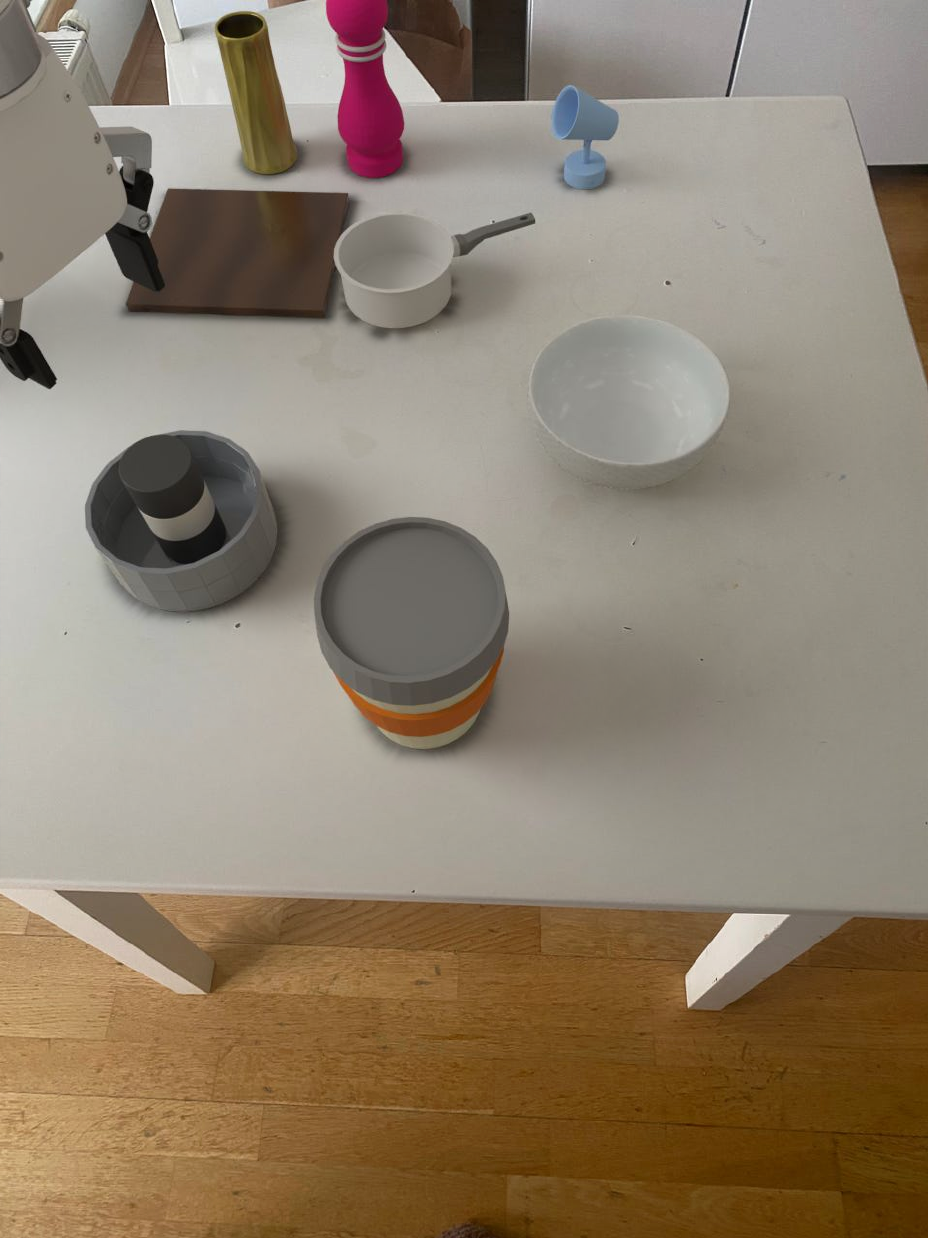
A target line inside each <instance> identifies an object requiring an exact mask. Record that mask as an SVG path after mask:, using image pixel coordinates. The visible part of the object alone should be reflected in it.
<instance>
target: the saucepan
mask: <svg viewBox="0 0 928 1238" xmlns="http://www.w3.org/2000/svg"><path fill="white" fill-rule="evenodd" d="M535 224H536V218H535V216H534V214H533V213H532V212H527V213H524V214H521V215H517V216H514V217H510V218H508V219H504V220H499V221H497V222H494V223H490V224H487V225H483V226H479V227H477V228H475V229H472V230H469V231H467V232H466V233H463V234H462V233H457V234H454V235H451V234H450V232H448V230H447V229H446V228H445V227H444V226H443V225H442V224H441V223H440V222H438V221H436V220H434V219H433V218H431V217H428V216H427V215H424V214H420V213H416V212H411V211H385V212H380V213H375V214H372V215H369V216H366V217H364V218H362V219H360V220H358V221H356V222H354V223H353V224H352V225H350V226H348V227H347V228H345V230H343V233H342V235H341V236H340V238H339V239H338V241H337V243H336V246H335V248H334V261H335V268H337V271H338V272H339V274H340V277H341V283H342V288H343V294H344V298H345V299H344V300H345V303H346V305H347V306H348V308H349V310H350V312H351V313H353V314H354V316H356V317H357V318H358V319H360V320H361V321H363V322H365V323H367V324H369V325H372V326H375V327H379V328H386V329H404V328H410V327H415V326H418V325H421V324H424V323H426V322H427V321H429V320H432V319H433V318H435V317H436V316H437V315H439V314H440V313H441V312H442V311H443V310H444V308H445V307H446V306H447V304H448V302H449V301H450V299H451V295H452V272H451V271H452V269H451V264H452V261H453V258H454V259H455V258H458V257H463V256H468V254H469V253H470V252H472V251H473V250H474V249H475V248H476V247H477V246H478V245H480V244H481V243H482V242H484V241H485V240H488V239H490V238H493V237H496V236H500V235H502V234H506V233H509V232H513V231H515V230H519V229H522V228H526V227H528V226H532V225H535Z"/></svg>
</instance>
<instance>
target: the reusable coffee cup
mask: <svg viewBox="0 0 928 1238" xmlns="http://www.w3.org/2000/svg"><path fill="white" fill-rule="evenodd" d="M315 583H316V584H315V588H314V595H313V609H314V610H313V613H314V614H313V615H314V621H315V629H316V637H317V640H318V644H319V649H320V651H321V654H322V656H323V658H324V660H325V661H326V663H327V665H328V667H329V669H331V671H332V672H333V674H334V676H335V678H336V680H337V682H338V684H339V685H340V687H341V688H342V690H343V691H344V692H345V694H346V695H347V696H348V698H349V699H350V701H351V702H352V704H353V705H354V706H355V708H356V709H357V710H358V711H359V712H360V714H361V715H363V717H364V718H365V719H366V720H368V721H369V722H371V723H372V724H373V725H375V726H376V727H377V729H378V730H379V731H380V732H381V733H382V735H384V736H385V737H387V738H388V739H389V740H391V741H392V742H393V743H396V744H398V745H400V746H404V747H407V748H411V749H416V750H428V749H436V748H440V747H443V746H447V745H449V744H451V743H453V742H454V741H456V740H459V739H460V738H461V737H462V736H463V735H465V734H466V733H467V732H468V731H469V730H470V728H471V727H473V725H474V723H475V722H476V720H477V719H478V716H479V715H480V711H481V708H483V706H484V705H485V704H486V702H487V700H488V698H489V696H490V695H491V693H492V691H493V688H494V685H495V681H496V680H497V675H498V672H499V670H500V665H501V662H502V659H503V656H504V652H505V643H506V641H507V637H508V633H509V629H510V609H509V603H508V597H507V591H506V586H505V580H504V576H503V574H502V571H501V568H500V566H499V564H498V561H497V560H496V558H495V557H494V555H493V554H492V553H491V551H490V549H489V548H488V547H487V546H486V545H485V544H483V542H481V540H480V539H478V537H477V536H475V535H473V534H472V533H470V532H469V531H467V530H465V529H464V528H462V527H461V526H458V525H455V524H452V523H450V522H448V521H446V520H440V519H436V518H431V517H425V516H424V517H423V516H422V517H421V516H420V517H419V516H404V517H397V518H396V517H395V518H391V519H388V520H387V519H386V520H383V521H380V522H376V523H374V524H372V525H369V526H367V527H365V528H362V529H360V530H359V531H357V532H355V533H354V534H353V535H352V536H349V538H347V539H346V540H344V541H343V542H342V543H341V544H340V545H339V546H338V547H337V548H336V549H335V550H334V551H333V552H332V553H331V555H330V557H329V558H328V559H327V561H326V562H325V563H324V565H323V567H322V568H321V571H320V573H319V576H318V578H317V580H316V582H315Z"/></svg>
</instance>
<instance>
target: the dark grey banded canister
mask: <svg viewBox="0 0 928 1238" xmlns="http://www.w3.org/2000/svg"><path fill="white" fill-rule="evenodd" d="M128 447H129V448H128ZM128 447H127V448H128V449H127V448H126V449H127V450H126V451H125V453H124V454H123V456H122V457H121V460H120V463H119V475H120V478H121V480H122V481H123V483H124V485H125V487H126V488H127V490H128V492H129V493H130V495H131V497H132V498H133V500H134V502H135V504H136V505H137V507H138V509H139V510H140V512H141V514H142V516H143V517H144V519H145V521H146V522H147V524H148V526H149V528H150V529H151V531H152V533H153V534H154V536H155V538H156V540H157V541H158V543H159V545H160V546H161V548H162V550H163V552H164V553H165V555H166V556H167V557H168V558H170V559H171V560H173V561H174V562H177V563H180V564H191V563H195V562H197V561H199V560H201V559H203V558H205V557H207V556H209V555H211V554H213V553H215V552H217V551H219V550H220V549H221V547H222V546H223V544H224V542H225V539H226V528H225V525H224V523H223V521H222V518H221V516H220V514H219V512H218V510H217V507H216V505H215V503H214V501H213V499H212V496H211V494H210V492H209V490H208V488H207V485H206V483H205V481H204V479H203V477H202V474H201V472H200V470H199V468H198V465H197V463H196V461H195V459H194V457H193V454H192V452H191V450H190V448H189V447H188V445H187V444H186V443H185V442H184V441H182V440H181V439H179V438H177V437H174V436H171V435H159V434H153V435H149V436H146V437H143V438H140V439H139V440H137V441H135V442H134V443H132V445H129V446H128Z"/></svg>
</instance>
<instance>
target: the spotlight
mask: <svg viewBox="0 0 928 1238" xmlns="http://www.w3.org/2000/svg"><path fill="white" fill-rule="evenodd" d="M619 117H620V116H619V113H618V111H617V110H615V109H614V108H612V107H611V106H609V105H607V104H606V103H604V102H602V101H601V100H599V99H596V98H595V97H594V96H592V95H590V94H588V93H587V92H585V91H583V90H582V89H579V88H578V87H576V86H574V85H573V84H572V85H571V84H569V85H566V86H565V87H564V88H563V89H561V90H560V92H559V93H558V95H557V97H556V99H555V100H554V104H553V107H552V112H551V118H550V119H551V120H550V128H551V133H552V136H554V138H555V139H556V140H561V141H562V140H565V141H583V147H582V149H579V150H576V151H575V150H574V151H572V152H571V153H569V154H568V155H567V156H566V157H565V160H564V166H563V167H564V168H563V179H564V182H565V183H566V184H567V185H568V186H569V187H572V188H575V189H578V190H592V189H595V188H598V187H599V186H601V185H602V184H603V183H604V181H605V178H606V170H607V160H606V158H605V156H604V155H602V154H601V153H599V152H598V151H595V150H591V148H592V142H593V141H610V140H611V139H612V138H613V137H614V136H615V134H616V133H617V130H618V128H619V127H618V126H619V123H620V122H619V120H620V119H619Z"/></svg>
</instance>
